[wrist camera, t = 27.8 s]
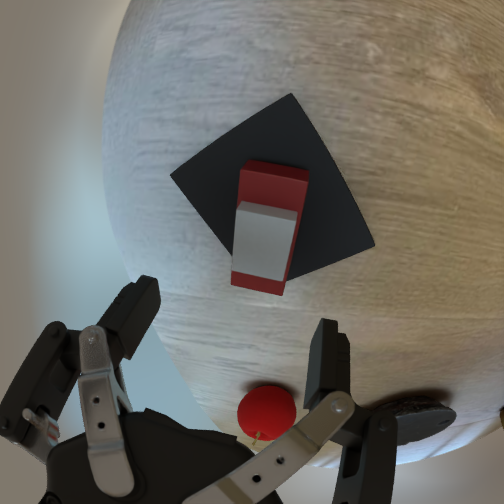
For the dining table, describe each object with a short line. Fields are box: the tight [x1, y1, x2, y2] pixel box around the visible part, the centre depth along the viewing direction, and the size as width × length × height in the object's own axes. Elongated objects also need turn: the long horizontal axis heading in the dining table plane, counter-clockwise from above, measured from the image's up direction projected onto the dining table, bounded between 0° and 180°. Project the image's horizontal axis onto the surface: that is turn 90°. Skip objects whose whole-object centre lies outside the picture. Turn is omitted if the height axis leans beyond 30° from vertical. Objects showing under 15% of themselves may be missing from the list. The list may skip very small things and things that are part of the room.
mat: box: [170, 93, 375, 281], centre depth 22 cm, size 14×12×1 cm
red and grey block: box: [231, 160, 309, 296], centre depth 21 cm, size 5×5×10 cm
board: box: [371, 396, 457, 446], centre depth 37 cm, size 22×22×5 cm
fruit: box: [237, 385, 296, 446], centre depth 37 cm, size 9×9×10 cm
